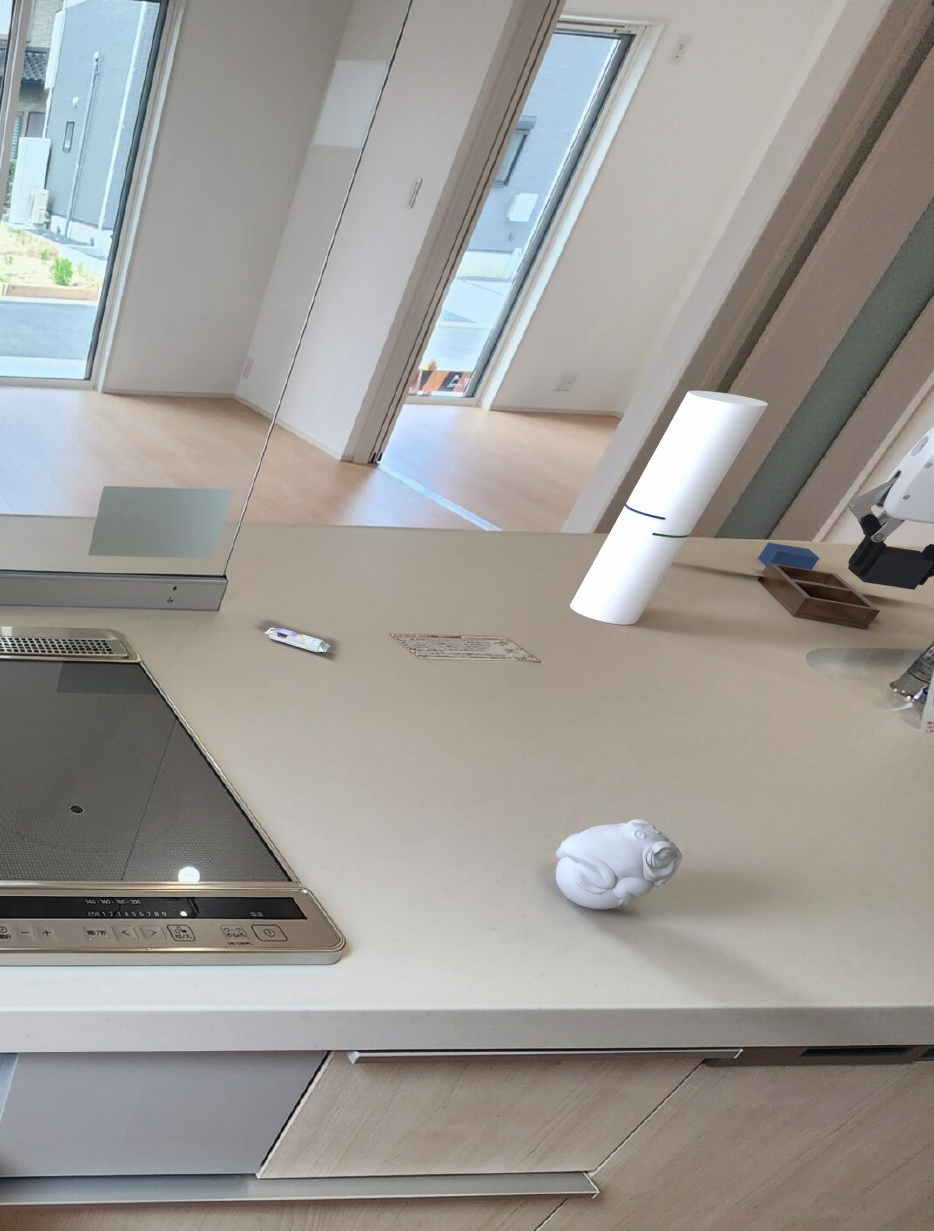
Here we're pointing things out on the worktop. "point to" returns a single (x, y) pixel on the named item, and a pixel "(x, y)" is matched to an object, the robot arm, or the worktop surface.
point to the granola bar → (297, 639)
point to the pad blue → (788, 556)
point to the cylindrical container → (666, 504)
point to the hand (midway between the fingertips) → (885, 575)
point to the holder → (818, 596)
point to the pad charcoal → (898, 568)
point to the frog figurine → (615, 863)
